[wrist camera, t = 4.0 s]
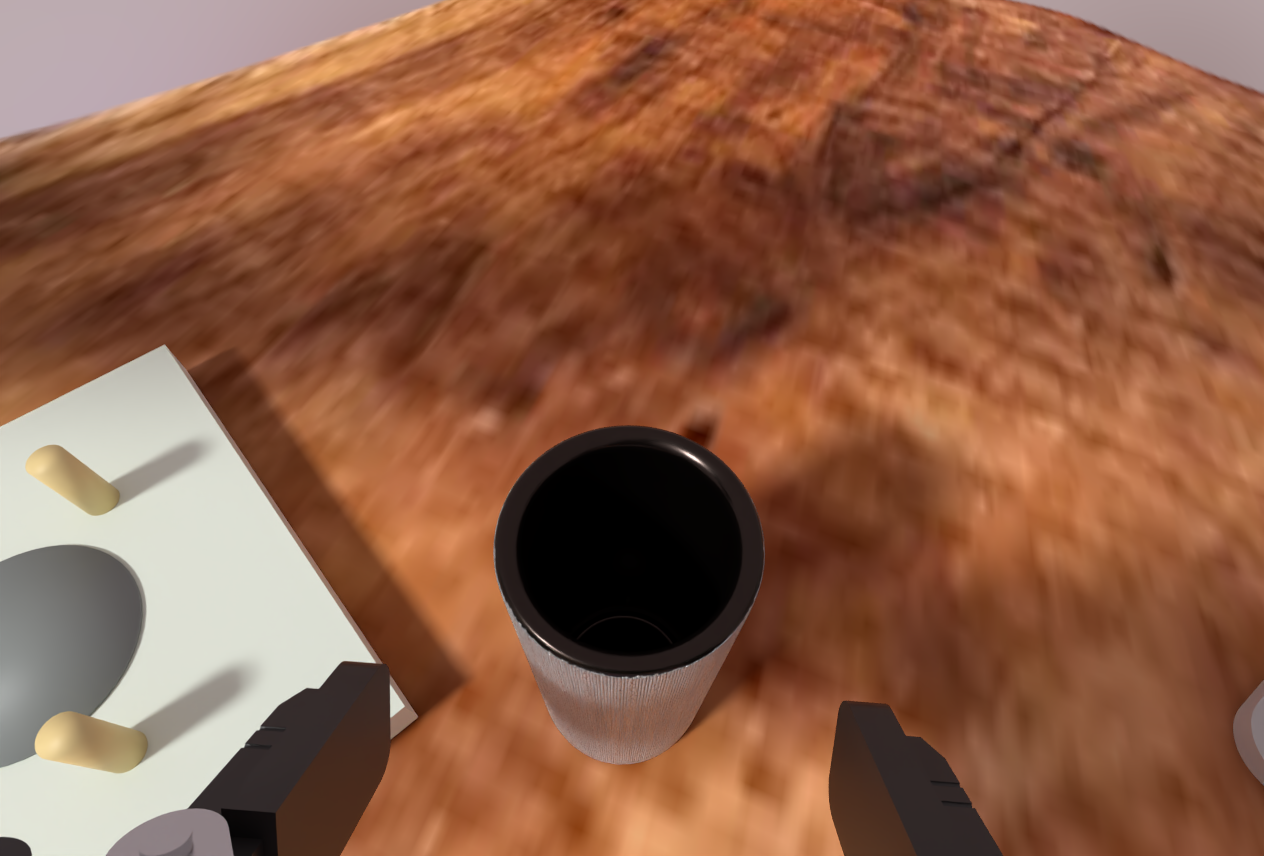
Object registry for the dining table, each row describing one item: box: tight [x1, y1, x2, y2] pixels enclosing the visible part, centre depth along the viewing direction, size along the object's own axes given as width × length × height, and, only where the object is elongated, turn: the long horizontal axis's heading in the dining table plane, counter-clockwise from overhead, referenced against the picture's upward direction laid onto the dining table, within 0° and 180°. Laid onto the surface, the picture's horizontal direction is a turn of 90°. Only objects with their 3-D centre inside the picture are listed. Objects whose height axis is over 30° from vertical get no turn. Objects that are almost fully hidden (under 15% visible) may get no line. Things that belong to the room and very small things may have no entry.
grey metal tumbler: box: [494, 425, 765, 764], centre depth 16 cm, size 4×4×10 cm
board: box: [0, 345, 418, 856], centre depth 18 cm, size 16×14×4 cm
